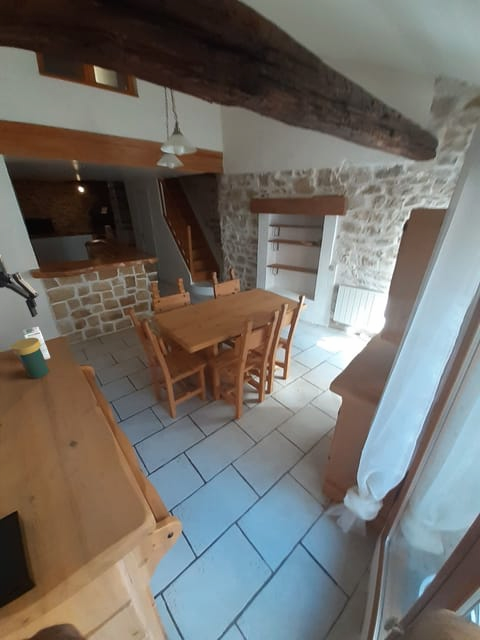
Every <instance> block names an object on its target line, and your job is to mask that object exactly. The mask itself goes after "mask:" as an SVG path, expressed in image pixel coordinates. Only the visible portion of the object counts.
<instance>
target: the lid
mask: <svg viewBox="0 0 480 640" xmlns="http://www.w3.org/2000/svg"><path fill="white" fill-rule="evenodd" d="M40 347H41V344H40V342H39V339H38V338H26V339H25V338H23V339H20V340H17V341H15V342H13V344H11V349H12V352H13V354H14V355H16V356H18V355H26V354H30V353H32V352H35V351H37V350H38V349H39V348H40Z"/></svg>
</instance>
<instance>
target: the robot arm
mask: <svg viewBox="0 0 480 640" xmlns="http://www.w3.org/2000/svg"><path fill="white" fill-rule="evenodd" d="M3 288H6V289H9V290H11V291H13V292H14V293H16V294H17V295H19V296H21V297H22V298H24V299H26V300H25V303H26V306H27V308H28V311H29V313H30V316H31V318H35V317H36V316H37V315H38V311H37V308H36V307H38V304H37V301H36V300H35V299H36V298H38V297H39V296H40V294H39V292H38V291H36V289H35V288H33V287H32V286H31V285H30V284H29V283H28V282H27V281H26V280H25V279H24V278H23V277H22V275H21V273H20V272H18V271H17V272H15V273H9V272H8V268H7V267H6V264H5V261H4V260H3V259H2V254H0V289H3Z"/></svg>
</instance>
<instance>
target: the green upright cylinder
mask: <svg viewBox="0 0 480 640" xmlns="http://www.w3.org/2000/svg"><path fill="white" fill-rule="evenodd" d="M17 357H18V359H19V361H20V363H21V365H22V367H23V369H24V371H25V374H26V376H27V377H28V379H30V380H37V379H40V378H43V377H45V376H47V375H48V374H49V373H50V368H49V365H48V363H47V361H46V360H45V359H44V356H43V354H42V352H41V349H40V348H39V349H38V350H37V351H35V352H32V353H30V354H26V355H17Z"/></svg>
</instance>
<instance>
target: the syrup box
mask: <svg viewBox="0 0 480 640" xmlns="http://www.w3.org/2000/svg"><path fill="white" fill-rule="evenodd" d="M22 333H23V336H24V339H26V338H38V339H39V342H40V344H41V347H40V349H41V352H42V354H43V356H44V359H45V361H46V360H49V359H51V355H50V352H49V350H48V347H47V344H46V342H45V339H44V336H43V335H42V331H41V330H40V327H39V326H33V327H30V328H25V329H23V330H22Z"/></svg>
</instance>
